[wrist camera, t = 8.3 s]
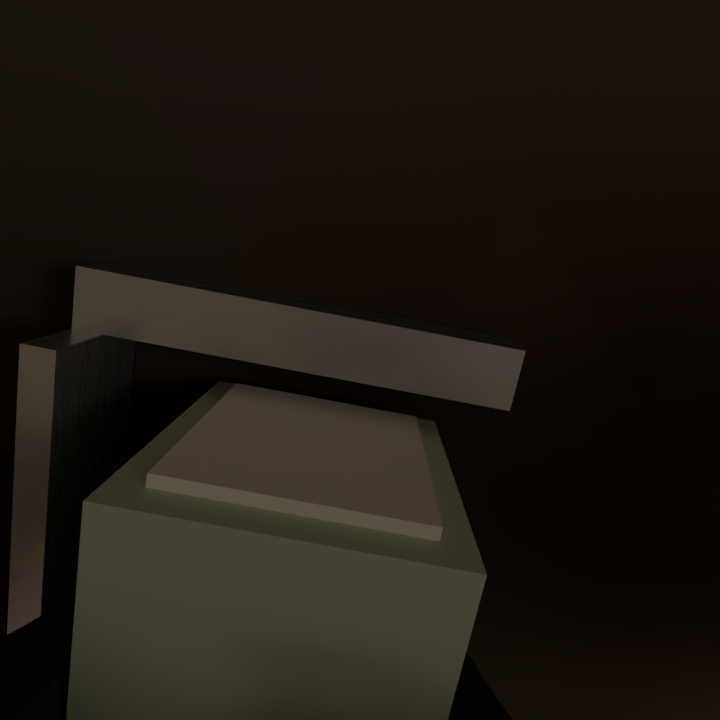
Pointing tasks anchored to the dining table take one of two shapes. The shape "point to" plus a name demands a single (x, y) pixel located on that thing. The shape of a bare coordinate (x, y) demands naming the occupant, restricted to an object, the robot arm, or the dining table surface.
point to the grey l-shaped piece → (203, 335)
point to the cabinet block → (275, 568)
